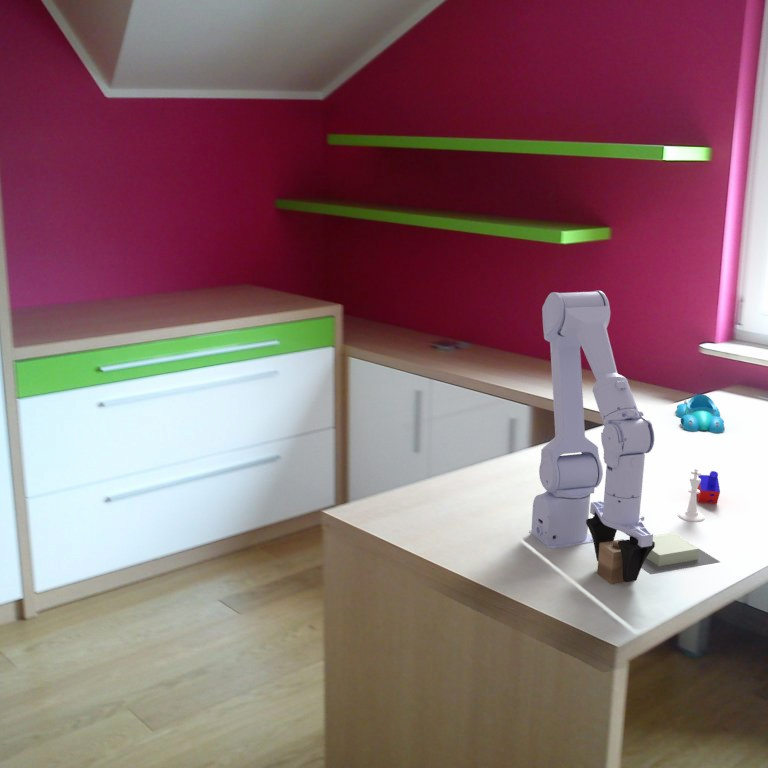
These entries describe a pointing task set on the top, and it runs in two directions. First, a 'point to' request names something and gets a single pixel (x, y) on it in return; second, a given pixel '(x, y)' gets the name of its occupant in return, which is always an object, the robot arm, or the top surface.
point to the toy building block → (708, 488)
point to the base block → (672, 550)
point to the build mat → (679, 564)
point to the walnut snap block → (610, 562)
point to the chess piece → (693, 501)
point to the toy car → (700, 415)
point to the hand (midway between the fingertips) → (616, 570)
